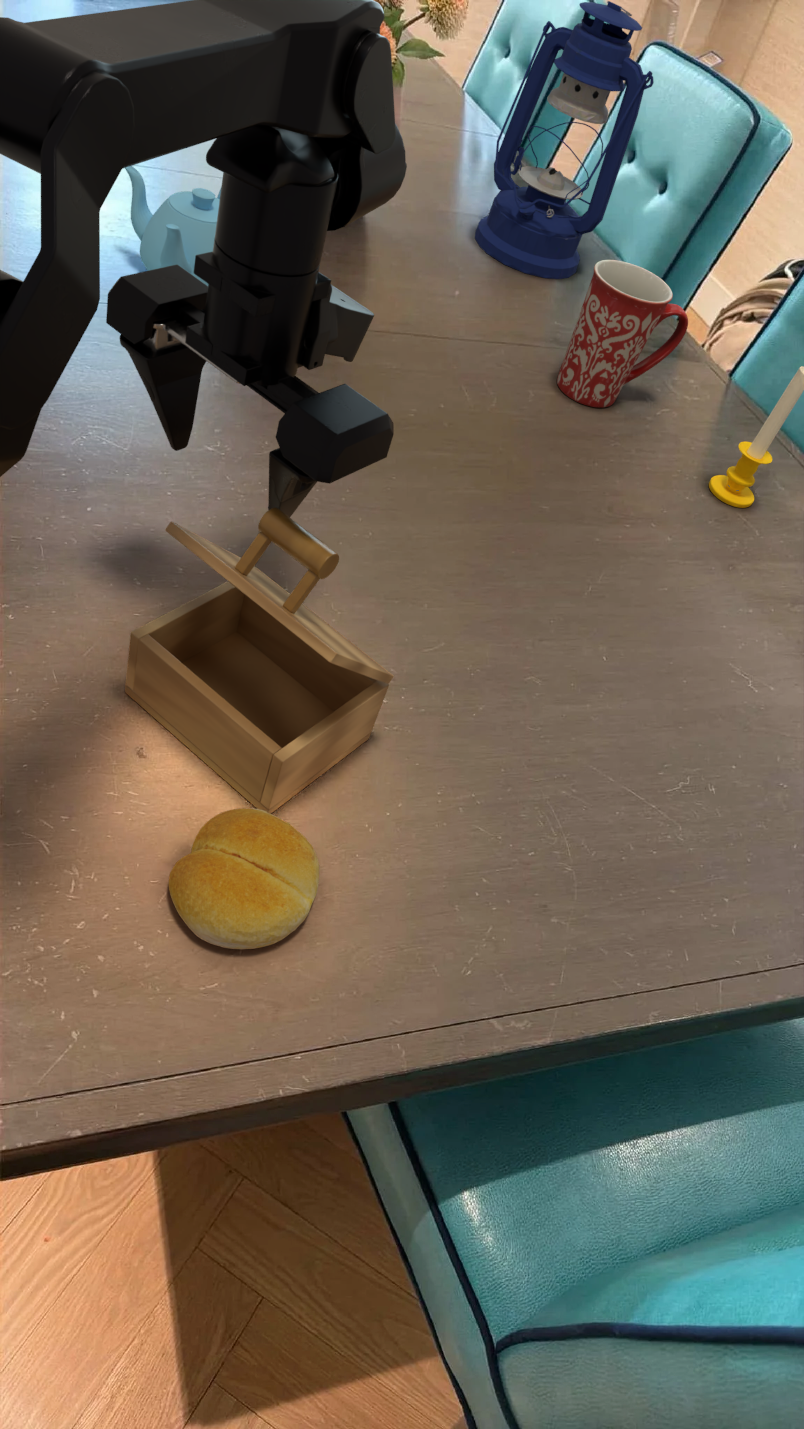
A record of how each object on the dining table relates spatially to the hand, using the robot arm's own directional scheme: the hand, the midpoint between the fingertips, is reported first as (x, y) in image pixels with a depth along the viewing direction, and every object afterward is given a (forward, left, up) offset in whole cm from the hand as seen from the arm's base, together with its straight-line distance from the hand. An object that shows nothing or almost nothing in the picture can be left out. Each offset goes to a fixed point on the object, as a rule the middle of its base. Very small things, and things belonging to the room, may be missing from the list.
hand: (227, 485), depth 65 cm
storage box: (+1, -9, -13) cm, 16 cm away
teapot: (+15, +50, -13) cm, 54 cm away
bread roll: (-4, -22, -13) cm, 26 cm away
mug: (+58, +30, -13) cm, 66 cm away
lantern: (+68, +65, -13) cm, 95 cm away
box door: (+1, -8, -3) cm, 9 cm away
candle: (+64, +11, -13) cm, 66 cm away
